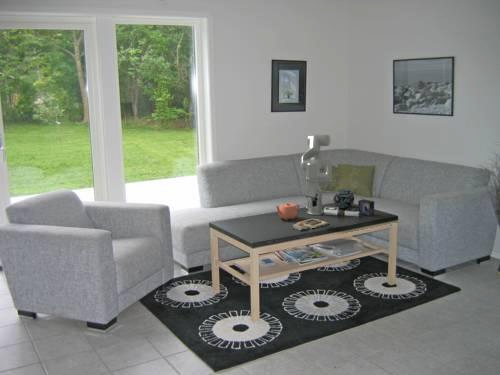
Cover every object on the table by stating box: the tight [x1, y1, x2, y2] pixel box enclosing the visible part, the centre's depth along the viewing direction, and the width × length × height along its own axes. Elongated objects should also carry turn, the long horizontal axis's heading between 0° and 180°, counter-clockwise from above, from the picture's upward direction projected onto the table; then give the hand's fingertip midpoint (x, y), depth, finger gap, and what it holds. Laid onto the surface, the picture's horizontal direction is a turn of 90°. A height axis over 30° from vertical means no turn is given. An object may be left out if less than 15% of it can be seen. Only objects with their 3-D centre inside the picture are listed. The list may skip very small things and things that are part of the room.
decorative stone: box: [333, 188, 355, 209], centre depth 413 cm, size 16×16×15 cm
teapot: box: [275, 202, 300, 221], centre depth 388 cm, size 20×12×12 cm, turn 112°
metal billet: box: [306, 196, 318, 209], centre depth 370 cm, size 4×6×8 cm
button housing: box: [292, 223, 309, 231], centre depth 364 cm, size 7×7×3 cm
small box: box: [357, 198, 375, 217], centre depth 393 cm, size 11×6×10 cm, turn 43°
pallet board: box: [295, 217, 330, 230], centre depth 373 cm, size 16×17×2 cm
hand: (312, 205), depth 370 cm, fingers closed on metal billet, 4 cm apart
